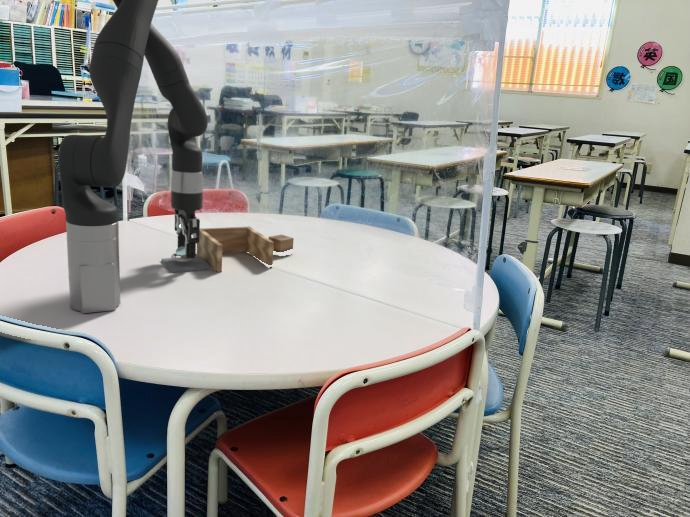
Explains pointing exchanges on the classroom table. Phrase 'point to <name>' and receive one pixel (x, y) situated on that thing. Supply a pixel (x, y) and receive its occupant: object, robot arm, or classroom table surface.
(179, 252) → the pacifier
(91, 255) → the robot arm
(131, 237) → the classroom table surface
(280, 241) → the walnut block
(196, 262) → the pad
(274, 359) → the classroom table surface
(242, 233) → the cubby
